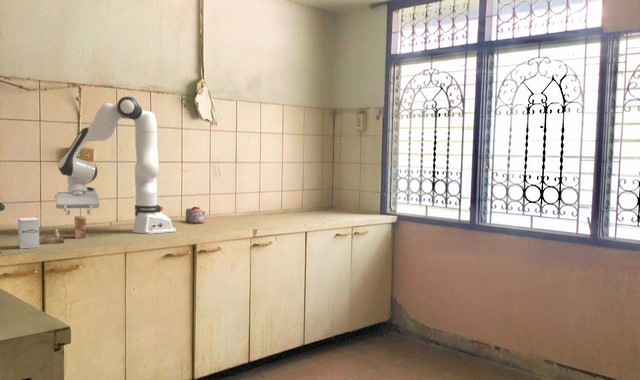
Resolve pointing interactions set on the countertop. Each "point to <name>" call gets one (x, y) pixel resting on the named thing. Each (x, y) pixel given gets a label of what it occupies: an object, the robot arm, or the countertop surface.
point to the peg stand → (51, 238)
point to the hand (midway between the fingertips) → (78, 213)
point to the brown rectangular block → (80, 227)
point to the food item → (195, 215)
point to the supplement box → (28, 233)
